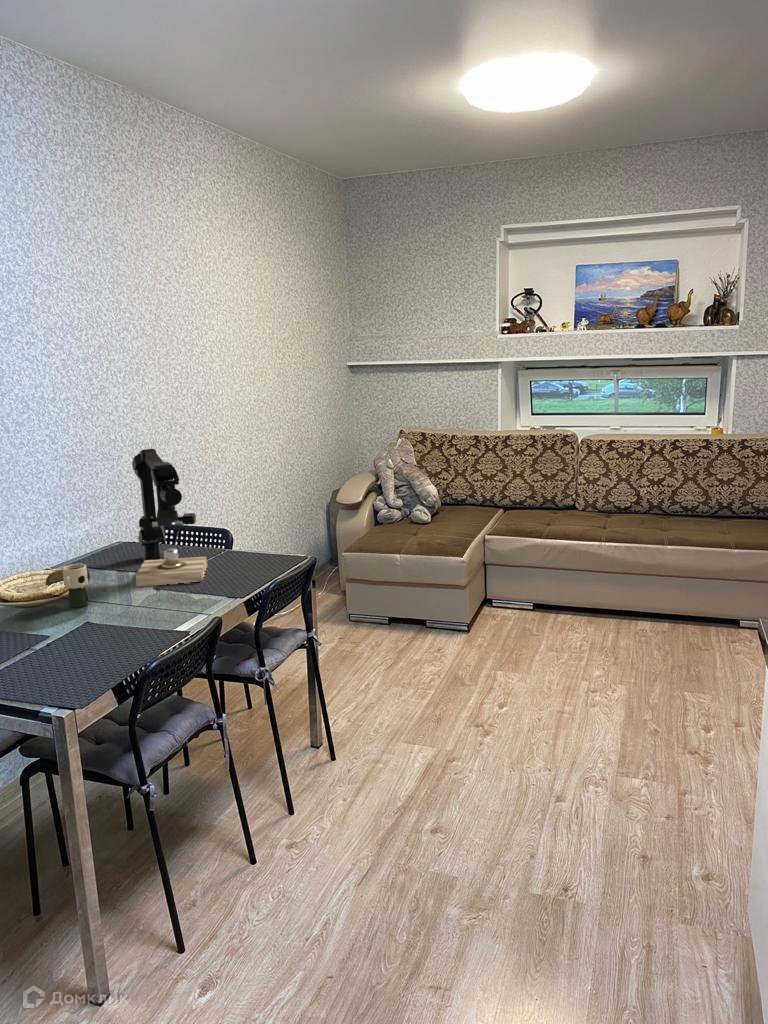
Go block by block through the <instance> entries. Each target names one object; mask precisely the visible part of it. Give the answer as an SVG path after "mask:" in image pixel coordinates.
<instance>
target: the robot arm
mask: <svg viewBox="0 0 768 1024" xmlns="http://www.w3.org/2000/svg"><path fill="white" fill-rule="evenodd" d="M131 466H132V469H133V471H134V474H135V476H136V477H137V478H138V480H139V483H140V493H141V494H140V495H141V503H142V513H143V515H142V516H141V517H140V518H139V520H138V527H139V528H140V530H139V532H138V536H137V539H138V544H139V545H140V546H141V547H143V550H144V557H143V559H142V561H143V562H144V561H145V560H160V559H162V558H163V556H164V553H163V554H161V549H160V548H161V547H160V544H162V543H163V544H164V545H166V543H167V542H166V541H167V539H166V535H165V527H164V526H168V527H170V526H173V544H174V545H176V544H177V540H178V536H179V531H180V529H181V528H183V527H184V525H186V526H187V525H195V523H196V521H197V515H196V514H195V513H194V512H193V513H192V512H191V513H189V512H188V513H183V515H182V516H179V515H178V514H179V513H178V510H176V506H177V505H179V504H180V503H181V501H182V497H183V495H182V492H181V491H180V490H179V489H177V488H176V485H180V477H179V474H178V472H177V470H176V468H175V466H173V464H172V463H170V462H168V461H163V459H162V458H161V457H160V456H159V454H158V453H157V450H156V448H147V449H141V450H140V451H139V452H138V454H135V455H134V456H133V458H132V462H131ZM154 487H156V488H155V490H156V492H155V490H154ZM155 493H156V500H155ZM156 501H157V509H156ZM173 523H174V525H173ZM162 555H163V556H162ZM161 557H162V558H161Z"/></svg>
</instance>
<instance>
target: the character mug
mask: <svg viewBox="0 0 768 1024" xmlns="http://www.w3.org/2000/svg"><path fill="white" fill-rule="evenodd" d="M61 570H63V578H64V585H65V588H69V593H68V594H67V595H68V597H67V599H68V601H67V602H68V604H67V605H68V606H69V607H75V608H81V607H85V606H87V605H88V603H90V598H89V595H88V591H87V589H86V588H87V586H88V585H89V583H88V579H87V570H88V568H87V565H86V564H84V563H74V564H68V565H65V566H62V569H61ZM86 585H87V586H86ZM85 586H86V587H85Z"/></svg>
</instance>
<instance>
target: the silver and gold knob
mask: <svg viewBox="0 0 768 1024" xmlns="http://www.w3.org/2000/svg"><path fill="white" fill-rule="evenodd" d="M163 558H164V561H165V562H164V563H162V568H165V569H173V568H178V567H180V566H182V562H181V561H179V559H178V558H179V551H178V548H177V547H170V548H168V547H167V548H164V549H163Z"/></svg>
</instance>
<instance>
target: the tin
mask: <svg viewBox="0 0 768 1024" xmlns="http://www.w3.org/2000/svg"><path fill="white" fill-rule="evenodd" d="M87 579H88V584H89V583H90V579H91V576H90V572H89V570H88V569H87ZM60 581H64V578H63V570H62V569H59V570H56V571H53V572H51V573H50V574H48V576H47V577H46V579H45V586H46V585H48V586H49V585H51V584H53V583H57V582H60ZM87 587H88V585H86V586H85V588H87Z"/></svg>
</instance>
